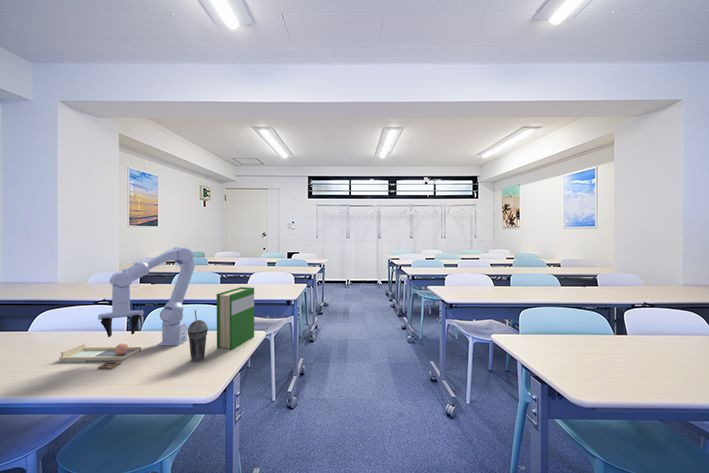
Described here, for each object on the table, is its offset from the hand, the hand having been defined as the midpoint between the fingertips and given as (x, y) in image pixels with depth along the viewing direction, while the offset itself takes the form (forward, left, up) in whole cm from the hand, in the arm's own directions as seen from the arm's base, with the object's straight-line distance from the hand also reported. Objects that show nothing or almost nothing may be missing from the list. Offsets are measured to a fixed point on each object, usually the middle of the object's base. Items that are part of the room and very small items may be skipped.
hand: (121, 334), depth 122 cm
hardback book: (-41, -15, -9) cm, 45 cm away
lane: (+8, 0, -9) cm, 12 cm away
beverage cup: (-33, +4, -9) cm, 34 cm away
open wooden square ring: (-3, +10, -9) cm, 13 cm away
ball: (0, 0, -6) cm, 6 cm away
